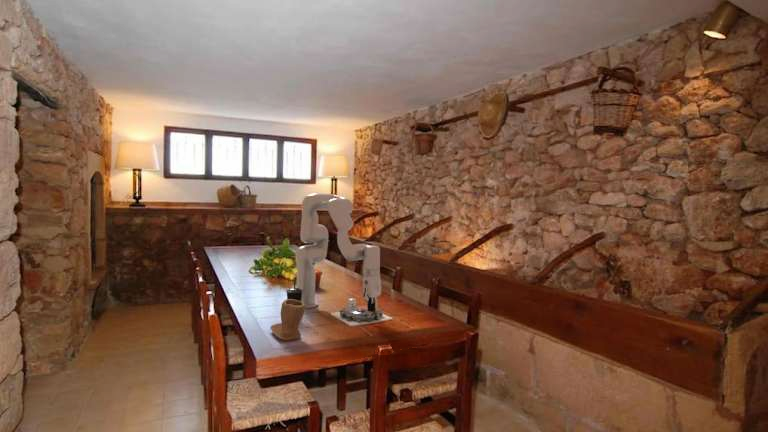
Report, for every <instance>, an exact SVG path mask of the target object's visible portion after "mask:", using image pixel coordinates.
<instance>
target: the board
mask: <svg viewBox="0 0 768 432" xmlns="http://www.w3.org/2000/svg"><path fill="white" fill-rule="evenodd" d="M330 316H332V317H334V318H336V320H339V321H341V322H342V323H344V324H346V325H348V326H349V327H351V328H352V327H357V326H358V327H359V326H362V325H370V324H375V323H381V322H389V321H393V320H394V318H393V317H391V316H389V315H386V314H385V313H383V316H382V317H380V319H378V320H376V319H374V320H372V321H369V322H368V321H361V322H356V321H355V320H350V321H349V320H346V318H342V317H341V315H340V311H336V312H331V313H330Z"/></svg>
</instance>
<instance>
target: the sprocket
mask: <svg viewBox="0 0 768 432" xmlns="http://www.w3.org/2000/svg"><path fill="white" fill-rule="evenodd" d="M339 312H340V315H341V317H342V318H346V320H349V321H350V320H355V321H356V322H361V321H368V322H369V321H372V320H374V319H376V320H378V319H380V317H382V316H383V314H384V312H383V311H382V309H381V308H378V299H377V298H376V302H375V311H374V312H369V311H368V305H356V306H351V307H348V306H345V307H343V308H342V309H341V308H340V309H339Z"/></svg>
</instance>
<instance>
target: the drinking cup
mask: <svg viewBox="0 0 768 432" xmlns="http://www.w3.org/2000/svg"><path fill="white" fill-rule="evenodd" d="M296 285H297V276H294V277H293V287H291V288H289V289H286V300H287V299H293V300H297V301H301V299H302V292H303V290H302V289H299V288H297V287H296Z"/></svg>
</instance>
